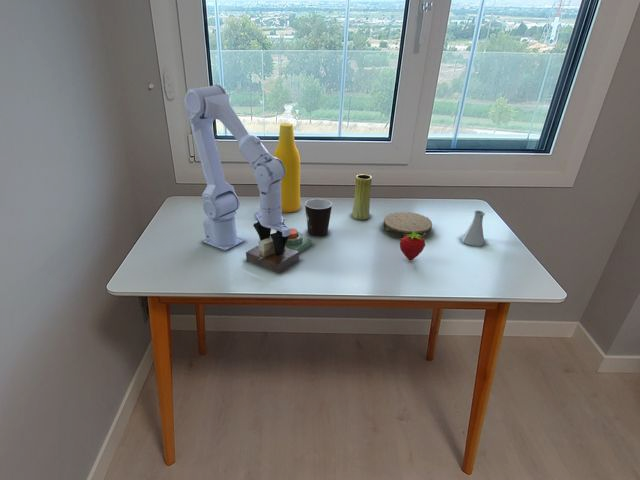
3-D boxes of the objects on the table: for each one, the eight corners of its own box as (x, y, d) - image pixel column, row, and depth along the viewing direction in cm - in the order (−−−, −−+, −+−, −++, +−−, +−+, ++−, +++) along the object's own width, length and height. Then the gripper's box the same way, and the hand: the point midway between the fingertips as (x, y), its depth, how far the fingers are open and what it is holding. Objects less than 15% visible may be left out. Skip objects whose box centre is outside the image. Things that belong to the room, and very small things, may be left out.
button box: (269, 245, 139) (269, 235, 137) (285, 236, 144) (285, 226, 142) (295, 254, 134) (295, 244, 132) (311, 245, 140) (311, 234, 138)
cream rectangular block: (264, 257, 126) (263, 243, 124) (259, 253, 128) (258, 240, 125) (285, 249, 130) (285, 236, 128) (280, 246, 132) (280, 233, 129)
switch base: (243, 262, 129) (243, 252, 128) (269, 247, 138) (269, 238, 136) (276, 275, 124) (275, 265, 122) (301, 259, 132) (301, 249, 130)
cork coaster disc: (373, 227, 152) (374, 219, 150) (404, 216, 160) (405, 208, 159) (409, 244, 142) (411, 236, 140) (440, 231, 151) (442, 223, 149)
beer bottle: (292, 214, 159) (292, 129, 142) (270, 209, 162) (266, 125, 145) (304, 206, 166) (305, 123, 149) (282, 201, 169) (281, 120, 152)
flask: (485, 239, 147) (493, 210, 141) (482, 248, 141) (490, 218, 135) (463, 234, 149) (469, 206, 143) (459, 243, 143) (465, 214, 138)
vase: (372, 215, 160) (376, 176, 152) (364, 221, 156) (367, 181, 148) (357, 211, 163) (360, 172, 155) (348, 217, 158) (351, 177, 150)
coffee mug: (328, 239, 143) (329, 210, 137) (301, 236, 144) (302, 207, 139) (334, 225, 152) (335, 196, 147) (309, 222, 154) (310, 194, 148)
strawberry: (394, 255, 135) (399, 225, 130) (418, 254, 136) (424, 224, 131) (400, 265, 131) (405, 234, 125) (425, 264, 132) (430, 233, 126)
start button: (280, 236, 137) (280, 231, 136) (289, 231, 140) (289, 226, 139) (291, 240, 135) (291, 235, 134) (300, 235, 138) (300, 230, 137)
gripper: (299, 210, 119) (299, 255, 127) (267, 194, 128) (269, 237, 135) (277, 217, 115) (278, 263, 123) (246, 199, 124) (249, 244, 132)
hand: (272, 250), depth 129 cm, fingers open, 6 cm apart
